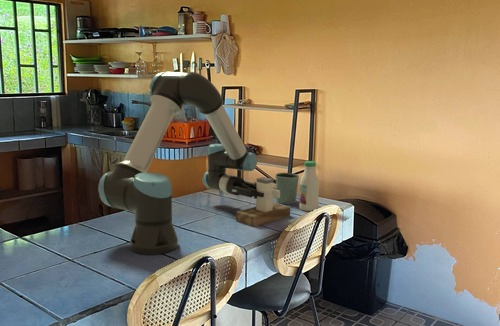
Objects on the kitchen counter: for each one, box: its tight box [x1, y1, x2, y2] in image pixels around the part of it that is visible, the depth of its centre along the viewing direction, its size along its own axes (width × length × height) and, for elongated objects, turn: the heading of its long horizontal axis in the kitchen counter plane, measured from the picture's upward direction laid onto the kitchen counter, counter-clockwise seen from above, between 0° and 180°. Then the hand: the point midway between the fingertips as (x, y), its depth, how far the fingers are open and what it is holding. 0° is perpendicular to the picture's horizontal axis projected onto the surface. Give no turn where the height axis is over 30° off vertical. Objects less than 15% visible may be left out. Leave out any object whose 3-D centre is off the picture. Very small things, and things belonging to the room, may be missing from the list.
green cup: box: [275, 172, 300, 205], centre depth 213 cm, size 10×10×12 cm
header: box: [235, 202, 291, 228], centre depth 189 cm, size 10×20×4 cm, turn 135°
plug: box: [255, 176, 274, 212], centre depth 188 cm, size 5×4×15 cm
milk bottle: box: [298, 160, 320, 212], centre depth 201 cm, size 8×8×20 cm
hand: (275, 195), depth 184 cm, fingers closed on plug, 4 cm apart
